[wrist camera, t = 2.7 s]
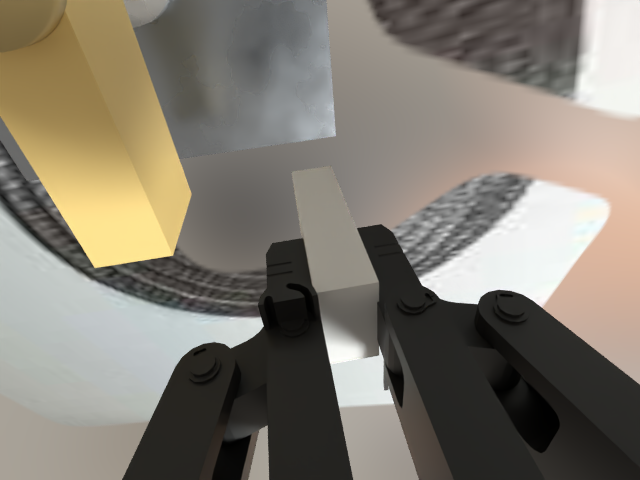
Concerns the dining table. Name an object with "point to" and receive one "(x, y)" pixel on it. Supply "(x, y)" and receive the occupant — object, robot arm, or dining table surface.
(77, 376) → the dining table surface
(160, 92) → the base
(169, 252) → the bar
